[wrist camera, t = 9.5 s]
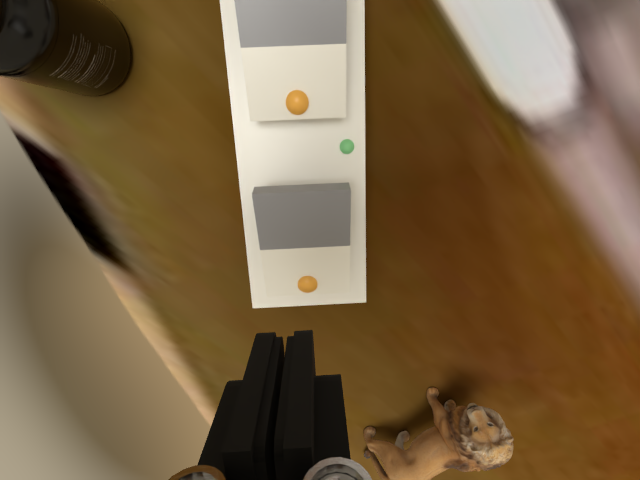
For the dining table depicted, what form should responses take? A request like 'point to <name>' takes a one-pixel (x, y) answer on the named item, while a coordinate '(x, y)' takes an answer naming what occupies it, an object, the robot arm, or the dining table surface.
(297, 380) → the robot arm
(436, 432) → the lion figurine
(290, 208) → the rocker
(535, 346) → the dining table surface
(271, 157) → the strip
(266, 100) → the rocker
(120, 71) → the supplement bottle
